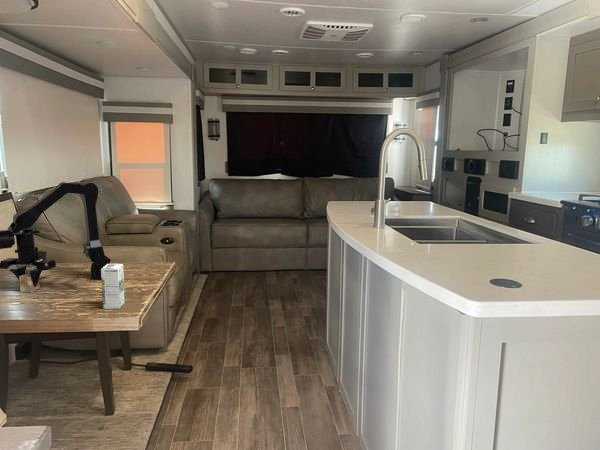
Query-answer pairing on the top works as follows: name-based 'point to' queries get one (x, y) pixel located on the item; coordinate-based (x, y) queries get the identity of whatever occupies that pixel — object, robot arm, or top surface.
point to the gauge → (30, 282)
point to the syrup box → (113, 286)
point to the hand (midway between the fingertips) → (30, 286)
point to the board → (61, 282)
